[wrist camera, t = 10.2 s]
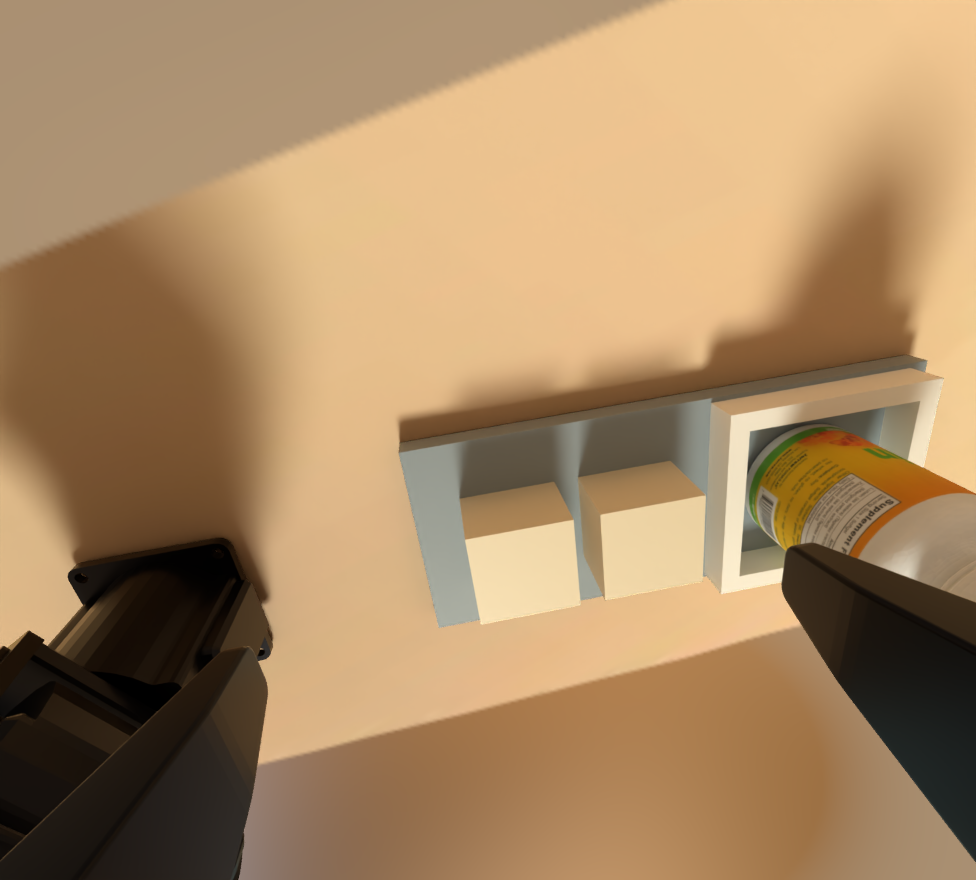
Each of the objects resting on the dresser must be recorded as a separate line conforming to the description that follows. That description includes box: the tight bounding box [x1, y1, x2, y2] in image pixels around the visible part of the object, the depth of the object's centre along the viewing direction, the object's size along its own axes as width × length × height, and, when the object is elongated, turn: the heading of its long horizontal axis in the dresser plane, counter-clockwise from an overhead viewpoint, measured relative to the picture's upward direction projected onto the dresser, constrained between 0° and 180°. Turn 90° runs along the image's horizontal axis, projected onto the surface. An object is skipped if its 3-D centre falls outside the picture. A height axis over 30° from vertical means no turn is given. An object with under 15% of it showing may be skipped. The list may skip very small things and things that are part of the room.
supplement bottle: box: [745, 424, 976, 602], centre depth 18 cm, size 5×5×10 cm
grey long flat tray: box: [399, 355, 944, 628], centre depth 22 cm, size 22×9×4 cm, turn 98°
